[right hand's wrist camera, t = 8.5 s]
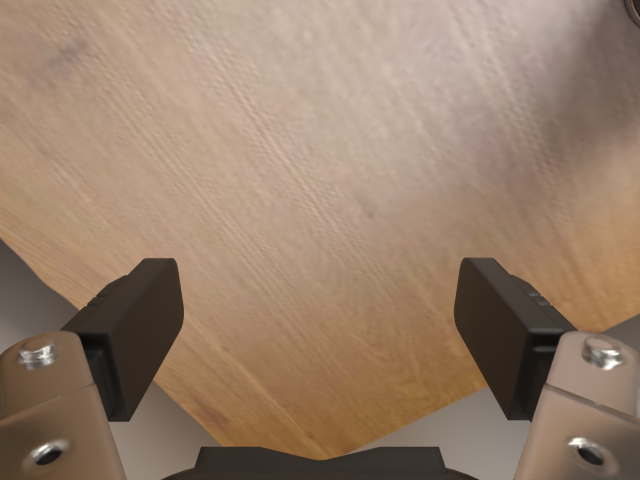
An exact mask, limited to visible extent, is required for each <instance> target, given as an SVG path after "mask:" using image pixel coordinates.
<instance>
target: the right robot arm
mask: <svg viewBox="0 0 640 480" xmlns="http://www.w3.org/2000/svg"><path fill="white" fill-rule="evenodd" d="M624 2H625V6H626V9H627V12H628V13H629V15H630V17H631V18H632V20H633V21H634V22H635V23H636V24H637V25H638V26H639V27H640V0H624ZM454 318H455V324H456V327H457V329H458V331H459V333H460V335H461V337H462V338H463V340H464V342H465V344H466V346H467V347H468V349H469V351H470V353H471V355H472V356H473V358H474V360H475V362H476V364H477V365H478V367H479V369H480V371H481V373H482V375H483V376H484V378H485V380H486V382H487V384H488V385H489V387H490V389H491V391H492V392H493V394H494V396H495V398H496V400H497V402H498V403H499V405H500V407H501V409H502V410H503V412H504V414H505V416H506V418H507V419H508V420H530V422H531V426H530V429H529V432H528V435H527V438H526V441H525V444H524V447H523V450H522V453H521V456H520V460H519V463H518V466H517V469H516V472H515V475H514V478H513V480H640V355H639V354H638V353H637V352H636V351H635V350H633V349H632V348H631V347H629V346H627V345H626V344H624V343H622V342H620V341H618V340H616V339H614V338H611V337H608V336H605V335H602V334H598V333H594V332H588V331H578V330H577V329H576V328H575V327H574V326H573V325H572V324H571V323H570V322H569V321H568V320H567V319H566V318H565V317H564V316H563V315H562V314H561V313H560V312H558V311H557V310H556V309H555V308H554V307H553V306H552V305H550V303H549V302H548V301H547V300H546V299H545V298H544V297H543V296H541V294H540V293H539V292H538V291H537V290H536V289H535V288H534V287H533V286H532V285H530V284H529V283H527V282H525V281H524V280H522V279H520V278H518V277H516V276H514V275H510V274H509V273H508V272H507V271H506V270H505V269H504V268H503V267H502V266H501V265H500V264H499V263H498V262H497V261H496V260H495V259H494V258H464V259H463V260H462V262H461V265H460V271H459V278H458V285H457V292H456V298H455V305H454ZM183 319H184V306H183V299H182V293H181V286H180V279H179V273H178V267H177V263H176V261H175V260H174V259H173V258H145V259H143V260H142V261H141V262H140V263H139V264H138V265H137V266H136V267H135V268H134V269H133V270H132V271H131V272H130V273H129V274H128V275H125V276H123V277H121V278H119V279H117V280H115V281H113V282H111V283H109V284H108V285H107V286H106V287H104V288H103V289H102V290H101V291H100V292H99V293H98V294H97V297H94V298H93V299H92V300H91V301H90V302H89V303H88V304H87V306H85V307H84V308H82V309H81V310H80V311H79V312H78V313H77V314H76V315H75V316H74V317H73V318H72V319H71V320H70V321H69V322H68V323H67V324H66V325H65V326H64V327H63V328H62V329H61V330H59V331H52V332H46V333H42V334H38V335H35V336H32V337H29V338H26V339H24V340H22V341H20V342H18V343H16V344H14V345H13V346H11V347H9V348H8V349H7V350H5V351H4V352H3V353H2V354H1V355H0V480H127V478H126V475H125V472H124V469H123V466H122V463H121V460H120V456H119V453H118V450H117V447H116V444H115V441H114V438H113V435H112V432H111V429H110V426H109V423H108V422H129V421H130V419H131V417H132V415H133V414H134V412H135V410H136V408H137V407H138V405H139V403H140V401H141V399H142V398H143V396H144V394H145V392H146V390H147V389H148V387H149V385H150V383H151V381H152V380H153V378H154V376H155V375H156V373H157V371H158V369H159V367H160V366H161V364H162V362H163V360H164V358H165V357H166V355H167V353H168V351H169V350H170V348H171V346H172V344H173V342H174V341H175V339H176V337H177V335H178V334H179V332H180V330H181V328H182V324H183ZM162 480H478V479H476V478H474V477H472V476H470V475H467V474H464V473H461V472H459V471H456V470H452V469H449V468H446V467H445V464H444V461H443V458H442V455H441V452H440V449H439V447H378V448H374V449H369V450H365V451H361V452H357V453H353V454H348V455H344V456H340V457H336V458H332V459H328V460H312V459H308V458H304V457H300V456H296V455H292V454H287V453H283V452H279V451H275V450H271V449H267V448H262V447H201V449H200V452H199V455H198V458H197V461H196V464H195V467H194V468H192V469H188V470H184V471H181V472H179V473H176V474H173V475H170V476H168V477H166V478H164V479H162Z"/></svg>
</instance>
